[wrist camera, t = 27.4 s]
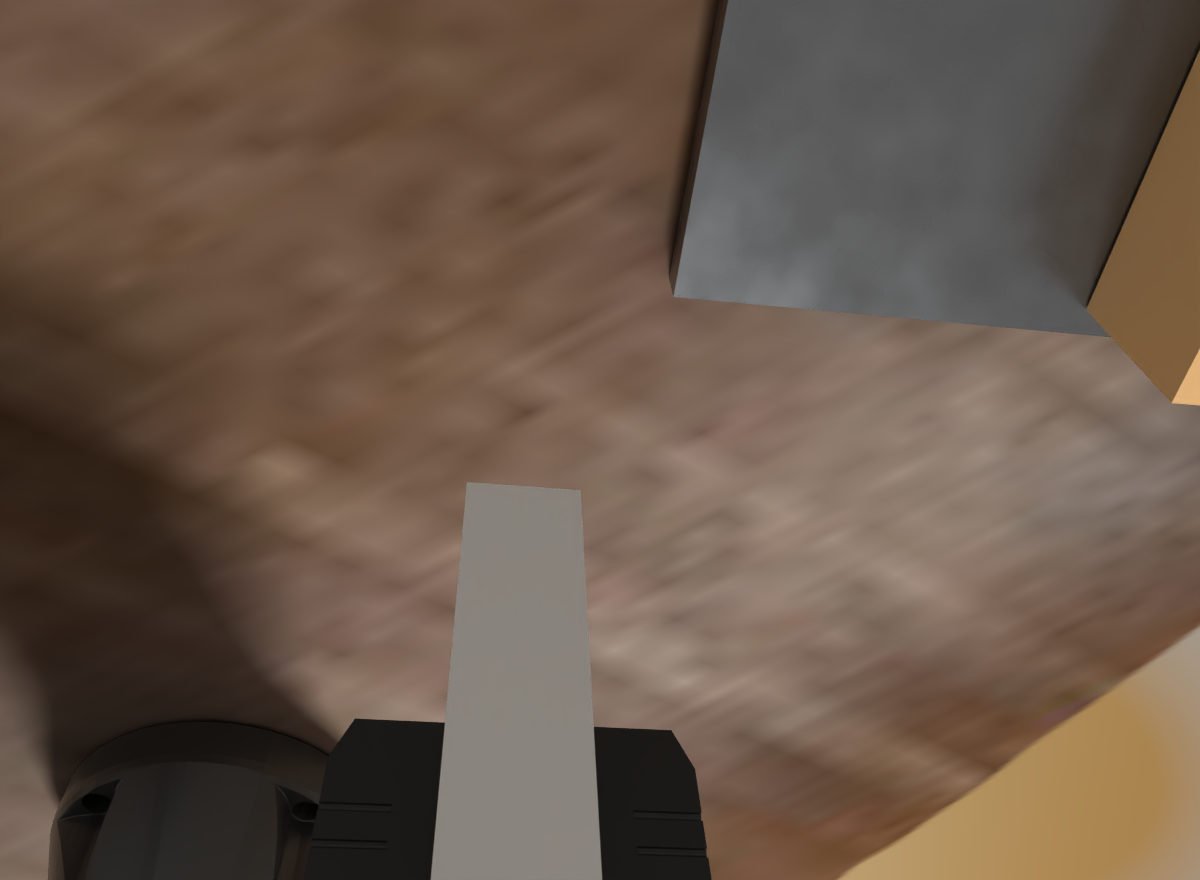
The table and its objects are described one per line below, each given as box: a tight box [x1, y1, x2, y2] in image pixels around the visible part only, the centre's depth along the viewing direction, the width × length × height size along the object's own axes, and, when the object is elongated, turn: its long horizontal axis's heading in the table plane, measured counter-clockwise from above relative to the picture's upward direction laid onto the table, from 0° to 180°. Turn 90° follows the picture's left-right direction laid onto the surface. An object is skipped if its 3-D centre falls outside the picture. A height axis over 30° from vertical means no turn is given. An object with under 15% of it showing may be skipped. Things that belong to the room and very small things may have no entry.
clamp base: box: [669, 0, 1200, 337], centre depth 31 cm, size 16×25×8 cm, turn 83°
